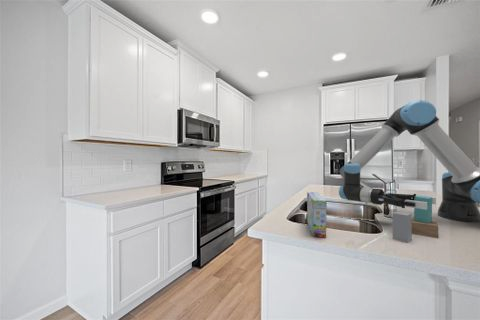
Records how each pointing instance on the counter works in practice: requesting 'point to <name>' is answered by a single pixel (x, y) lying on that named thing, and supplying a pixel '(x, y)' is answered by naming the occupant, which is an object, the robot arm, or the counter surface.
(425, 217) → the teal pillar
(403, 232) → the grey pillar
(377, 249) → the counter surface
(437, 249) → the counter surface
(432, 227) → the walnut block
